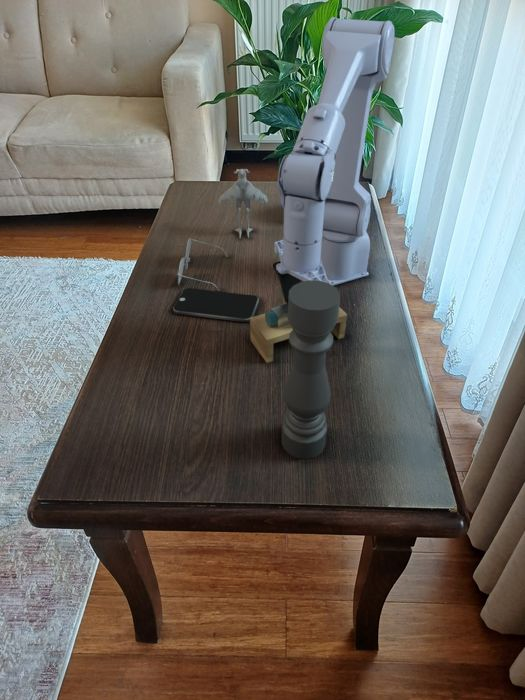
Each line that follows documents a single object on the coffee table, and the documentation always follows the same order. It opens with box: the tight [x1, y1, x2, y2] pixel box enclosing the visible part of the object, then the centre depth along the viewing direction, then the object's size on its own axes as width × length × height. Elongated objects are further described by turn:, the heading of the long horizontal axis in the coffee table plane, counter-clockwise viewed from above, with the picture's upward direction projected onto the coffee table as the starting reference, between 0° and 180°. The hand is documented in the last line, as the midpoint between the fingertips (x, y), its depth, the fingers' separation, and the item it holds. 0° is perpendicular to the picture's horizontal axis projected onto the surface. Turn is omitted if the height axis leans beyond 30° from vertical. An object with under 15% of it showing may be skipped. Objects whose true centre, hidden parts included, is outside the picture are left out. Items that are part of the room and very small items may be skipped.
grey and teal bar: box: [264, 303, 290, 327], centre depth 86 cm, size 11×2×2 cm, turn 116°
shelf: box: [249, 306, 348, 364], centre depth 89 cm, size 15×6×5 cm, turn 116°
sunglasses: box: [177, 237, 229, 292], centre depth 105 cm, size 14×8×5 cm, turn 175°
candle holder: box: [281, 280, 341, 460], centre depth 65 cm, size 6×6×25 cm
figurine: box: [217, 168, 270, 239], centre depth 113 cm, size 11×4×15 cm, turn 93°
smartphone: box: [172, 287, 260, 323], centre depth 97 cm, size 8×1×15 cm
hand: (299, 309), depth 86 cm, fingers open, 5 cm apart
